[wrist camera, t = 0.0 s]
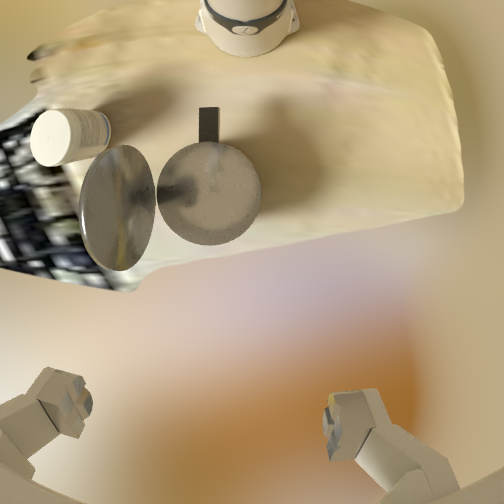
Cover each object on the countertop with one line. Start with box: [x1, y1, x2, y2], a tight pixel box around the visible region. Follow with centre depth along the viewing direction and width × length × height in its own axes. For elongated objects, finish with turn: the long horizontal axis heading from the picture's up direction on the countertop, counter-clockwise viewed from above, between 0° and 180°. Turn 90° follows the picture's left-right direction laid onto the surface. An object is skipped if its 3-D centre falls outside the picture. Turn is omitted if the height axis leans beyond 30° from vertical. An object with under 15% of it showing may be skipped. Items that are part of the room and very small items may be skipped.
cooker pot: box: [157, 107, 261, 245], centre depth 47 cm, size 21×16×11 cm
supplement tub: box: [30, 109, 111, 166], centre depth 43 cm, size 10×10×15 cm
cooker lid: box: [79, 145, 156, 271], centre depth 36 cm, size 16×16×3 cm
